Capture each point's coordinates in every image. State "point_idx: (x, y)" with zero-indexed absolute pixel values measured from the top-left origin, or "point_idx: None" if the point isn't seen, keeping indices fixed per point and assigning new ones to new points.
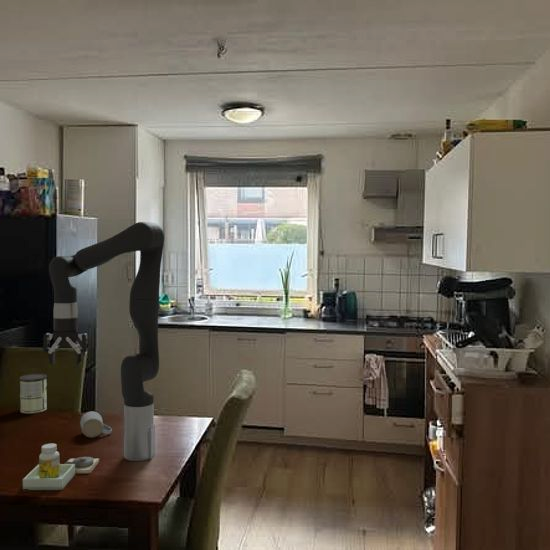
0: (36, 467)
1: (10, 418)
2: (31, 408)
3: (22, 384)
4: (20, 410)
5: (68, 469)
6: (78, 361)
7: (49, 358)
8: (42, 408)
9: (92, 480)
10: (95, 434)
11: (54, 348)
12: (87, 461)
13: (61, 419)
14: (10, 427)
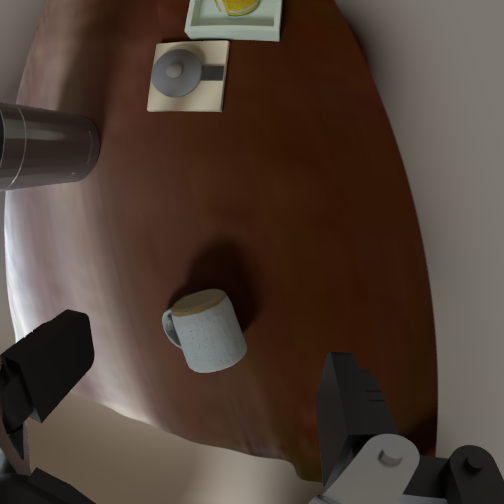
0: (276, 14)
1: (427, 429)
2: None
3: None
4: None
5: (194, 4)
6: (54, 320)
7: (380, 402)
8: None
9: (150, 17)
10: (195, 294)
11: (323, 498)
12: (163, 64)
13: None
14: (426, 382)
